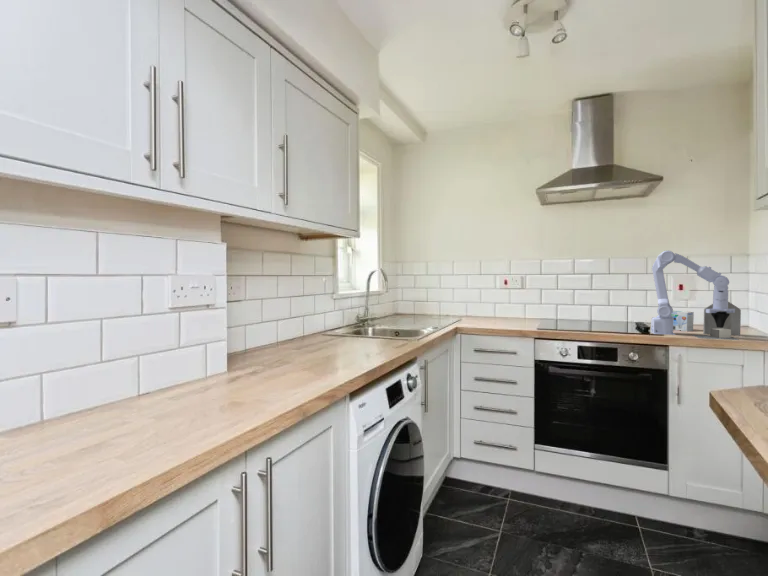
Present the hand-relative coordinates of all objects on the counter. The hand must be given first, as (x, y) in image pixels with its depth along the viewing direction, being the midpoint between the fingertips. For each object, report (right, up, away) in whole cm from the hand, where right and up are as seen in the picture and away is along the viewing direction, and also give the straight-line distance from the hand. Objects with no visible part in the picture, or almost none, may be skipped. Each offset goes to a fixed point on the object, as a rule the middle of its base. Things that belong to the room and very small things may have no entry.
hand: (719, 327), depth 195 cm
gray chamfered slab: (+10, -5, +14) cm, 18 cm away
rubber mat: (-3, -5, 0) cm, 6 cm away
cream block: (-3, -3, 0) cm, 4 cm away
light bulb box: (+3, -5, +31) cm, 31 cm away
